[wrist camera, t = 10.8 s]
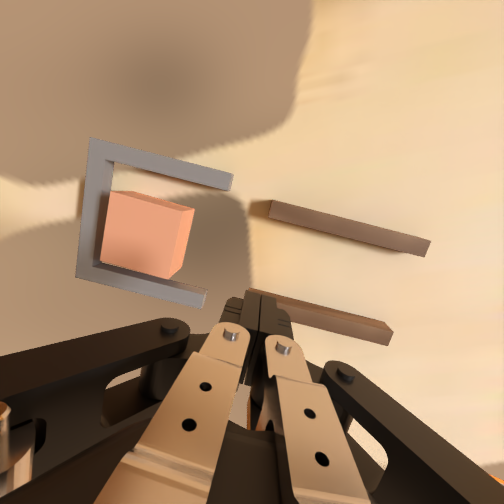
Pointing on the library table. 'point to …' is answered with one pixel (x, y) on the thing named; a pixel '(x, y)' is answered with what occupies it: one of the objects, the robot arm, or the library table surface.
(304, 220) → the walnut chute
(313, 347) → the library table surface
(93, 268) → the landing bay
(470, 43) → the library table surface
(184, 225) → the terracotta block
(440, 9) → the library table surface
